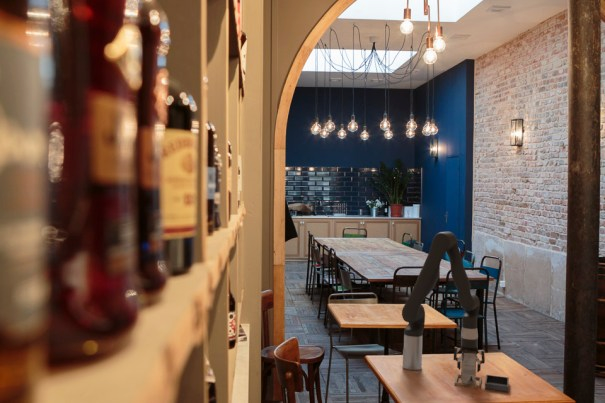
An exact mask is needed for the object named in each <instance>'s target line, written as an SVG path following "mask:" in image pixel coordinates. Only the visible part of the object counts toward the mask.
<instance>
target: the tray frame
mask: <svg viewBox="0 0 605 403" xmlns="http://www.w3.org/2000/svg"><path fill="white" fill-rule="evenodd" d="M459 378H460V379H461V373H460V374H459V373H457V374H456V377H455V380H454V386H456V387H463V386H464V388H470V387H471V389H479V390H480V389H481V386H482V379H483V378H482V376H476V380H477V381H478V385H477V384H476V385H471V384H463V383H462V382H458V381H459Z"/></svg>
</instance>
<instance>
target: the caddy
mask: <svg viewBox="0 0 605 403" xmlns="http://www.w3.org/2000/svg"><path fill="white" fill-rule="evenodd" d="M509 380H510V379H509V377H506V376H499V375H493V374H491V375H490V374H486V375H485V382H484V390H485V391H492V392H496V393H497V392H498V393H507V394H509V385H510V384H509Z"/></svg>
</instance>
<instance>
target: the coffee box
mask: <svg viewBox="0 0 605 403" xmlns="http://www.w3.org/2000/svg"><path fill="white" fill-rule="evenodd" d="M461 355H462V360H461V369H460V370H461V372H460V375H461V378H460V380H461V383H463V384H471V385H477V383H476V382H477V381H476V377H477V375H476V374H477V361H476V351H472V350H462V353H461Z"/></svg>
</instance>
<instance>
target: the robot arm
mask: <svg viewBox="0 0 605 403" xmlns="http://www.w3.org/2000/svg"><path fill="white" fill-rule="evenodd" d="M445 253H446V254H447V256H448V260H449V263H450V265H449V266H450V274H451V277H452V281H453V284H454V286H455V288H456V292H457V298H458V302H459V305H460V307H461V308H462V309H463V310H464V314H463V316H462V318H461V330H460V332H461V335H460V339H461V340H460V343H461V344H460V347H457V346H454V349H453V361H456V362H457V363H456V364H457V366H456V367H457V369H458V370H459V371H460V370H461V360H462V350H472V351H476V373H480V371H481V369H482V368H481V365H482V364H485V362H486V360H485V350H484V349H479V348H478V338H479V333H478V332H479V331H478V317H479V312H480V309H481V308H480V306H481V304H480V303H481V302H480V298H479V297H478V296H477V295H475V294H473V293H471V289H472V285H471V281H470V279H469V277H468V275H467V272H466V270H465V266H464V263H463V260H462V256H461V252H460V248H459V243H458V239H457V237H456V235H455V234H454V233H453V232H451V231H440V232H438V233H436V234H435V235H434V237H433V239H432V242H431V245H430V248H429V251H428V254H427V256H426V259H425V260H424V263H423V266H422V267H421V270H420V272H419V273H418V276H417V280H416V281H415V284H414V286H413V288H412V290H411V293H410V295H409V296H408V299H407V300H406V302H405V303H404V305H403V307H402V309H401V316H402V317H401V318H402V319H403V321H404V322H406V323H408V324H407V326H406V327H405V328H404V331H403V332H404V334H403V349H402V369H405V370H408V371H420V370H422V368H423V367H422V366H423V363H422V362H423V333H424V330H425V322H426V311H425V308H424V306H423V305H422V304H423V302H424V300H425V299H426V298H427V297H428V295H429V294H430V293H431V292H432V291H433V290H434V288H435V286H436V284H437V283H438V280H439V277H440V274H441V267H440V266H441V262H442V259H443V257H444V255H445ZM459 351H460V355H459V357H457V356H458V353H459ZM478 354H479V355H480V356H481V360H480V358H479V357H478Z"/></svg>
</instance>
